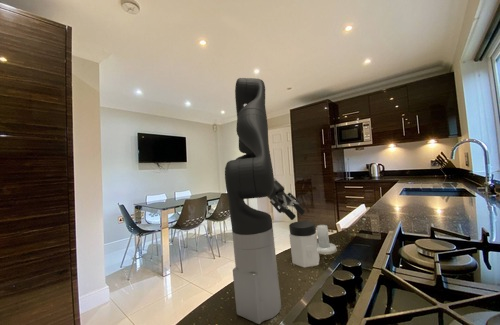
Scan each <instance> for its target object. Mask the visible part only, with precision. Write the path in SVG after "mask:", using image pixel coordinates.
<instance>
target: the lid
mask: <svg viewBox="0 0 500 325" xmlns="http://www.w3.org/2000/svg"><path fill="white" fill-rule="evenodd" d="M316 234H317V242H318V250H319V253H320V254H319V255H332V254H331V253H333V254H335V253H337V252H336V249H337V245H335V243H331V242H330V239H329V230H328V225H327V224H318V225H316ZM334 252H335V253H334Z"/></svg>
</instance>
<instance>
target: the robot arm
mask: <svg viewBox="0 0 500 325" xmlns="http://www.w3.org/2000/svg"><path fill="white" fill-rule="evenodd" d="M234 87H235V89H234V94H235V95H234V96H235V97H234V99H235V109H236V111H235V112H236V128H235V129H236V130H235V131H236V135H237V136H238V137H237V138H238V150H239V152H241V153H242V154H243V155H241V156H238V157H237V158H235V159H230V160H228V161H227V162H226V164H225V168H224V182H225V188H226V189H225V190H226V194H227V195H226V196H227V200H228V208H229V217H230V225H231V234H232V243H233V254H234V264H235V265H234V266H235V267H234V268H232V278H233V287H234V288H233V290H234V298H235V300H234V301H235V309H236V315H238V316H239V317H243V319H244V318H245V319H247V320H249V321H251V322H253V323H255V324H258V325H261V323H263V322H264V321H268V320H271V319H272V318H274V317H276V316H277V315H278V314H279V313H280V312H281V309H282V300H281V292H280V290H281V289H280V283H279V275H278V274H279V273H278V266H277V255H276V246H275V237H274V228H273V227H274V226H273V219H272V215H270V213H268V212H266V211H261V210H259V209H255V208H254V207H251V206H249V205H248V204H247V203H246V202H245V200H248V199H249V200H250V199H259V198H268V199H269V200H270V201H269V202H270V204H271V205H272V206H273V207H274V209H275V210H276V211H277V212H278V213H279V214H281V213H282V214H285V215H286V216H287V217H288V218H289V219H290V221H293V220H295V218H296V217H297V216H296V214H295V213H294V212H293V211H292V210H291V209H290V208H291V207H292V208H294V209H295V210H296V211H297V213H299V214H300V216H303V215H304V214H305V213H306V210H305V209H304V208H303V207H302V206H301V205H300V200H299V199H298V198H297V197H296V196H294V194H292V193H291V192H288V193H286V192H285V187H284V186H283V185H282V184H281V183H280V182H279V181H278V180H277V179H276V178H275V177H274V176H275V175H274V169H273V163H272V158H271V153H270V152H271V151H270V145H269V126H268V117H267V116H268V115H267V110H266V109H267V108H266V86H265V82H264V81H263V79H260V78H253V77H252V78H251V77H247V78H246V77H239V78H237V79H236V82H235V86H234ZM288 207H290V208H288Z"/></svg>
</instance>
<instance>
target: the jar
mask: <svg viewBox="0 0 500 325" xmlns="http://www.w3.org/2000/svg"><path fill="white" fill-rule="evenodd" d="M288 228H289V236H288V237H289V244H290V252H291V260H292V264H293V265H296V266H298V267H301V268H309V267H316V266H319V265H320V254H319V250H318V243H319V242H318V234H317V226H316V223H315V222H313V221H307V220H306V221H295V222H290V223H289V226H288Z"/></svg>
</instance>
